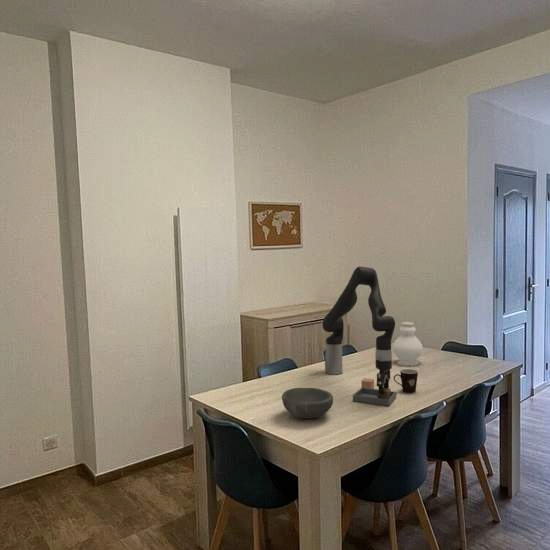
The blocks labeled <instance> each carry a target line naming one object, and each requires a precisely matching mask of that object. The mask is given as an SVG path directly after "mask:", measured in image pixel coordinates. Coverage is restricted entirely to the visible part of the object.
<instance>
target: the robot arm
mask: <svg viewBox="0 0 550 550" xmlns="http://www.w3.org/2000/svg"><path fill="white" fill-rule="evenodd" d="M359 285H360V286H368V287H369V288H370V294H369V295H368V299H367V303H368V307H369V309H370V312H371V327H372V329H373V330H374V331H376V332H384V333H383V334H382V335H379V336H377V337H376V338H375V368H376V369H377V370H378V372H377V373H376V387H378V389H379V395H383V394H384V388H388V389H390V387H389V386H390V385H389V384H390V383H389V382H390V380H391V369H392V368H393V353H392V339H393V335H394V331H395V328H396V327H395V326H396V320H395V318H394V317H393V316H391V315H386V313H387V308H386V305H385V303H384V300H383V298H382V294H381V289H380V283H379V278H378V274H377V271H376V269H374V268H373V267H366V266H357V267H356V268H355V269H354V271H353V272H352V274H351V276H350V279H349V280H348V282H347V285H346V286H345V288H344V289H343V291H342V293H341V294H340V296H339V297H338V299H337V300H336V302H335V303H334V305H333V307H332V308H331V309H330V311H329V312H328V313H327V314H326V315H325V317H324V318H323V319H322V329H323V331H324V332H326V333H332V334H330V335H329V336H328V337H326V339H325V350H326V351H325V352H326V353H325V356H324V369H325V370H324V372H325V374H328V375H341V374H343V370H344V369H343V340H344V327H345V326H344V319H343V317H344V316H345V315H346V314H348V313H349V312H350V311H351V310H353V308H354V307H355V305H356V303H357V302H358V294H357V287H359Z"/></svg>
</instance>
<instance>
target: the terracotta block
mask: <svg viewBox="0 0 550 550" xmlns="http://www.w3.org/2000/svg"><path fill="white" fill-rule="evenodd" d="M360 384H361V388H370V389H375V379H373V378H367V377H364V378H363V379H362V380H361V383H360ZM361 388H360V389H361Z"/></svg>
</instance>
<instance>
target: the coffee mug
mask: <svg viewBox="0 0 550 550" xmlns="http://www.w3.org/2000/svg"><path fill="white" fill-rule="evenodd" d="M418 374H419V371H418V370H417V369H413V368H412V369H411V368H404V369H400V374H398V373H397V374H395V375H393V380H394V382H395V383H396V384H398V385H400V386H401V388H402V392H404V393H406V394H412V393H416V391H417V386H418V385H417V384H418V383H417V382H418V377H419V376H418ZM398 376H399V377H400V381H401V383H400V382H398V381H397V380H396V377H398Z"/></svg>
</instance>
